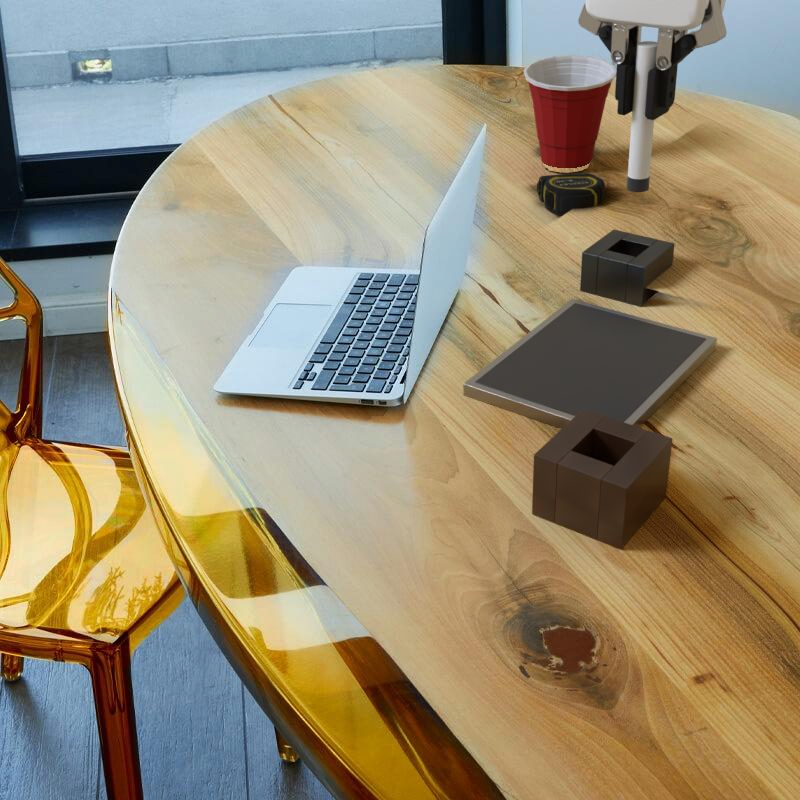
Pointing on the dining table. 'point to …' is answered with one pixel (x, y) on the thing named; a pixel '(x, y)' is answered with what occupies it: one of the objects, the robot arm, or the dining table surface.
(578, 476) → the pen stand
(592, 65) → the plastic cup
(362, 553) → the dining table surface
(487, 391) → the tablet
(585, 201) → the tape measure
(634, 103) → the stylus
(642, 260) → the stylus holder
